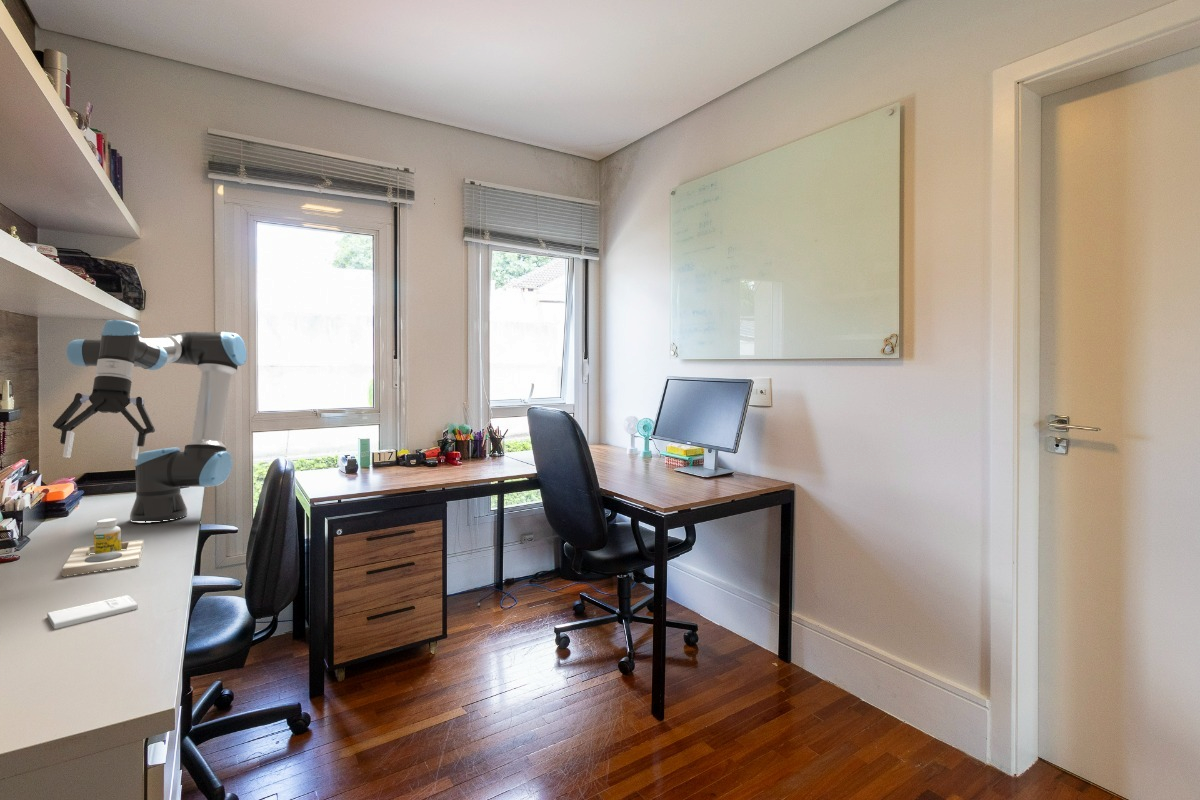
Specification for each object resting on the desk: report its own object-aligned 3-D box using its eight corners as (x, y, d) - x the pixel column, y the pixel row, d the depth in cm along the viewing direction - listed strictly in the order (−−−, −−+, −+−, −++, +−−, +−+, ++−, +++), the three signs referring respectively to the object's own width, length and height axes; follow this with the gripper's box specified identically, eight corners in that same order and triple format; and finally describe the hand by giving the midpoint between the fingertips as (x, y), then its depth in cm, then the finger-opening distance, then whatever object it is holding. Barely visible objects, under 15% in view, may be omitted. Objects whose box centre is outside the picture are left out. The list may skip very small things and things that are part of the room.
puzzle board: (75, 555, 151) (75, 546, 151) (143, 546, 159) (143, 538, 159) (62, 577, 135) (62, 567, 134) (138, 566, 143) (138, 556, 143)
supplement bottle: (124, 552, 154) (123, 516, 154) (117, 557, 149) (116, 521, 149) (98, 554, 152) (97, 518, 151) (91, 560, 147) (90, 523, 146)
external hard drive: (47, 620, 112) (127, 601, 122) (54, 632, 107) (137, 611, 117) (47, 612, 112) (127, 593, 122) (54, 623, 107) (137, 603, 117)
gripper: (45, 370, 143) (30, 455, 138) (168, 379, 154) (157, 458, 149) (57, 376, 149) (42, 458, 145) (174, 385, 160) (164, 460, 156)
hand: (101, 458), depth 147 cm, fingers open, 13 cm apart
